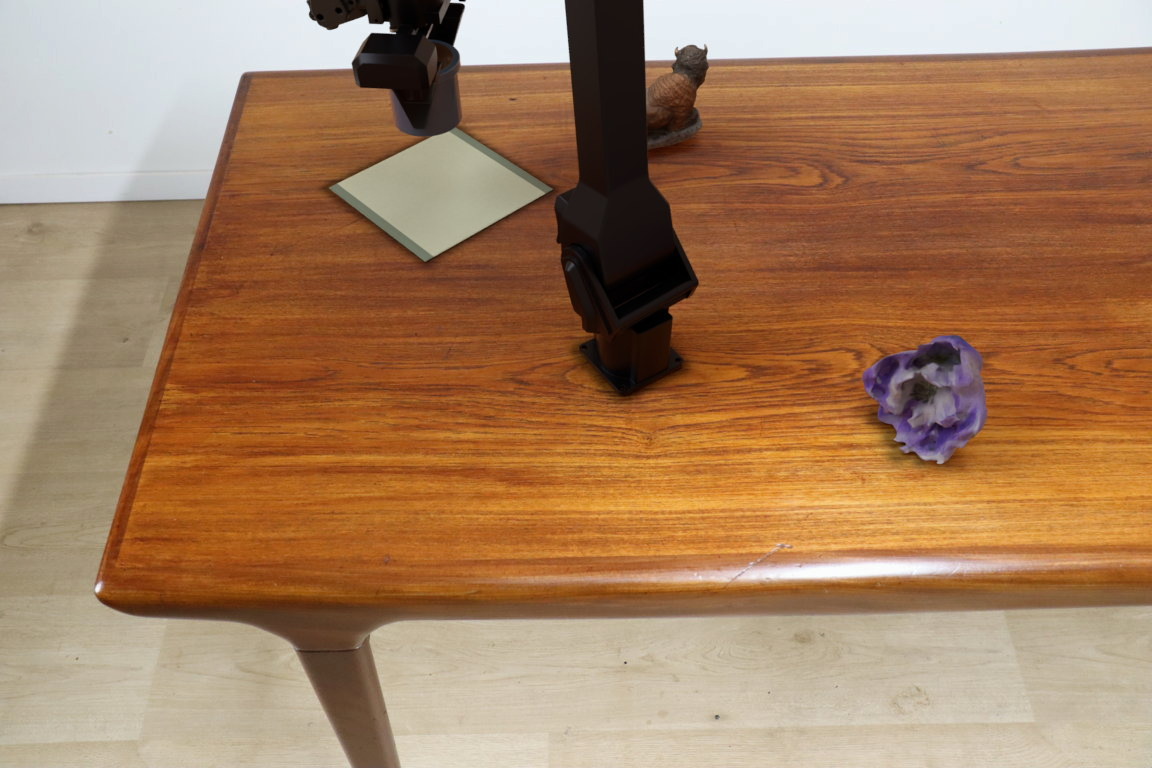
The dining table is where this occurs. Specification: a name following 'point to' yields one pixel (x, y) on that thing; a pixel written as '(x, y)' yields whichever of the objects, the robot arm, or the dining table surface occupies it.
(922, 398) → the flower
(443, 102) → the pot
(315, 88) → the dining table surface
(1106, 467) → the dining table surface
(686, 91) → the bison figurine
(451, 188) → the mat
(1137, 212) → the dining table surface
